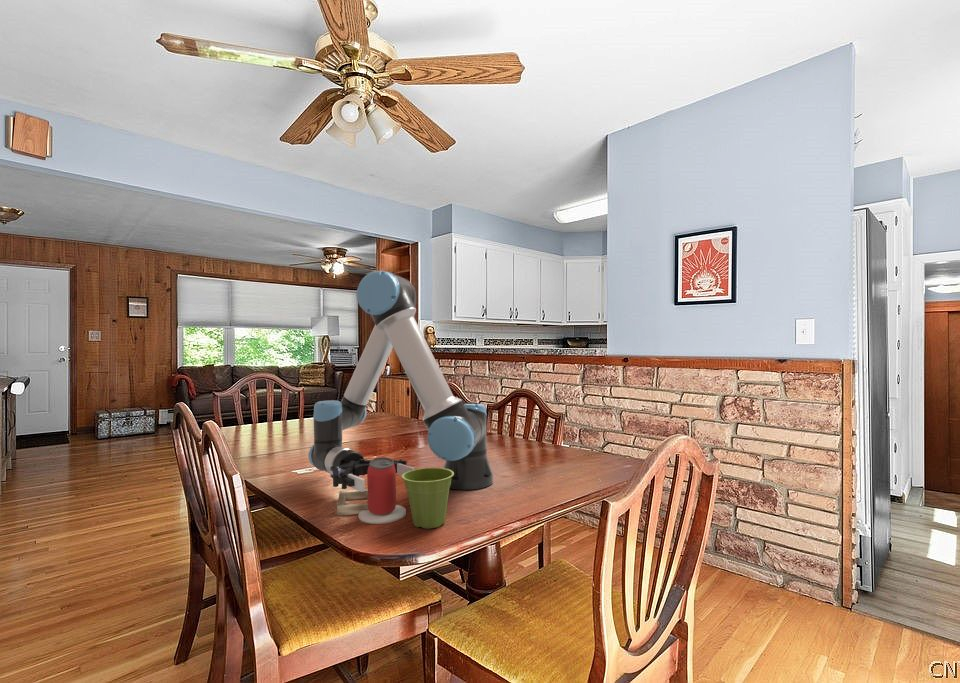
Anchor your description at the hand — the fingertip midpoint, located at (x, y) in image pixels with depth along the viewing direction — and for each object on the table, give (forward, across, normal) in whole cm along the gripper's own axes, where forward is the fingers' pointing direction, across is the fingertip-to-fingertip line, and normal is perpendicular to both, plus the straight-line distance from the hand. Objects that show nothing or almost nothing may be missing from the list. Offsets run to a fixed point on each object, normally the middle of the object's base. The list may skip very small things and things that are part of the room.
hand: (389, 479), depth 114 cm
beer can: (-4, 0, -8) cm, 9 cm away
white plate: (-3, 0, -9) cm, 10 cm away
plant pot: (+9, -5, -9) cm, 14 cm away
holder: (-13, -1, -9) cm, 16 cm away
